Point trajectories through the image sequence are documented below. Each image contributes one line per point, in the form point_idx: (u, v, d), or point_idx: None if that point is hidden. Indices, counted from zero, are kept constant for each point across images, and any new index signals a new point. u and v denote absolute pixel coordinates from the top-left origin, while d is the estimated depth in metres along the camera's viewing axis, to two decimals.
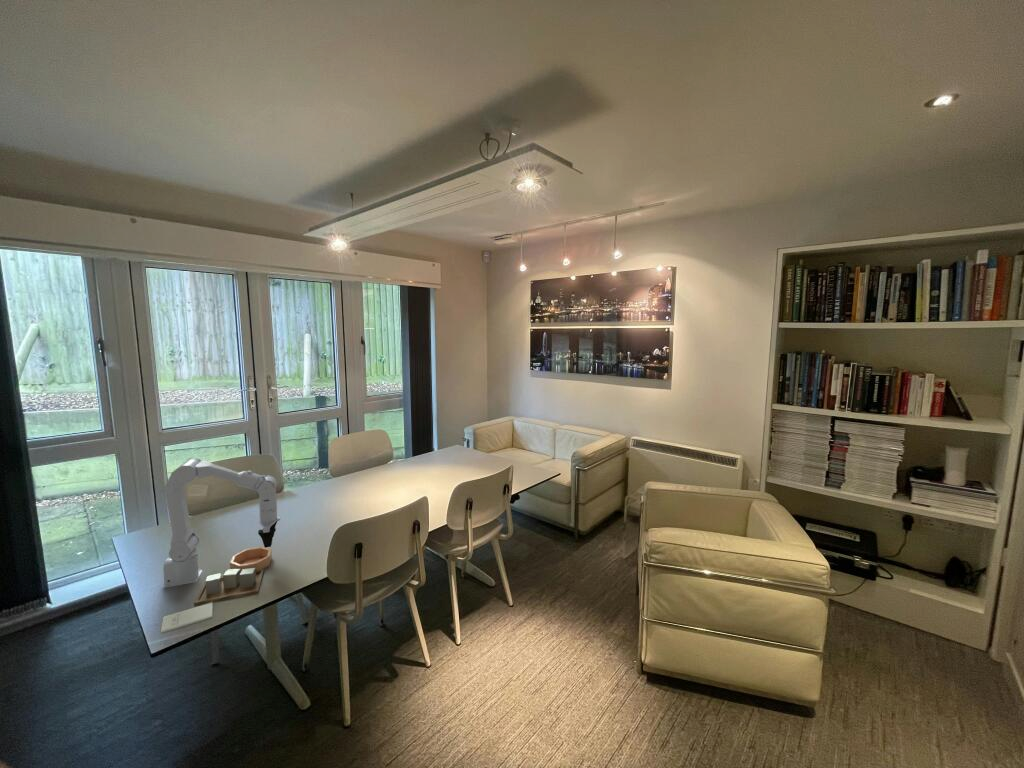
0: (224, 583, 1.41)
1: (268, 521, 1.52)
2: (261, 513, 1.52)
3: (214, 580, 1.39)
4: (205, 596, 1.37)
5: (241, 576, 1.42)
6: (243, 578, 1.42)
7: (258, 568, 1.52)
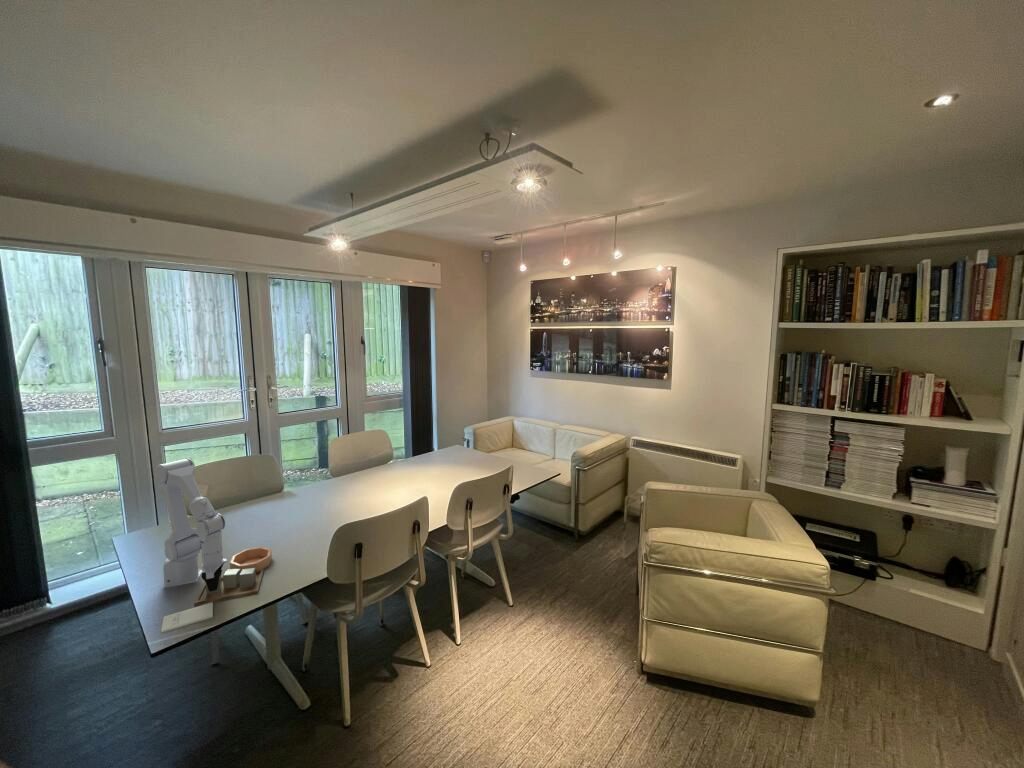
0: (224, 583, 1.41)
1: (212, 565, 1.37)
2: (204, 556, 1.36)
3: None
4: (205, 596, 1.37)
5: (241, 576, 1.42)
6: (243, 578, 1.42)
7: (258, 568, 1.52)
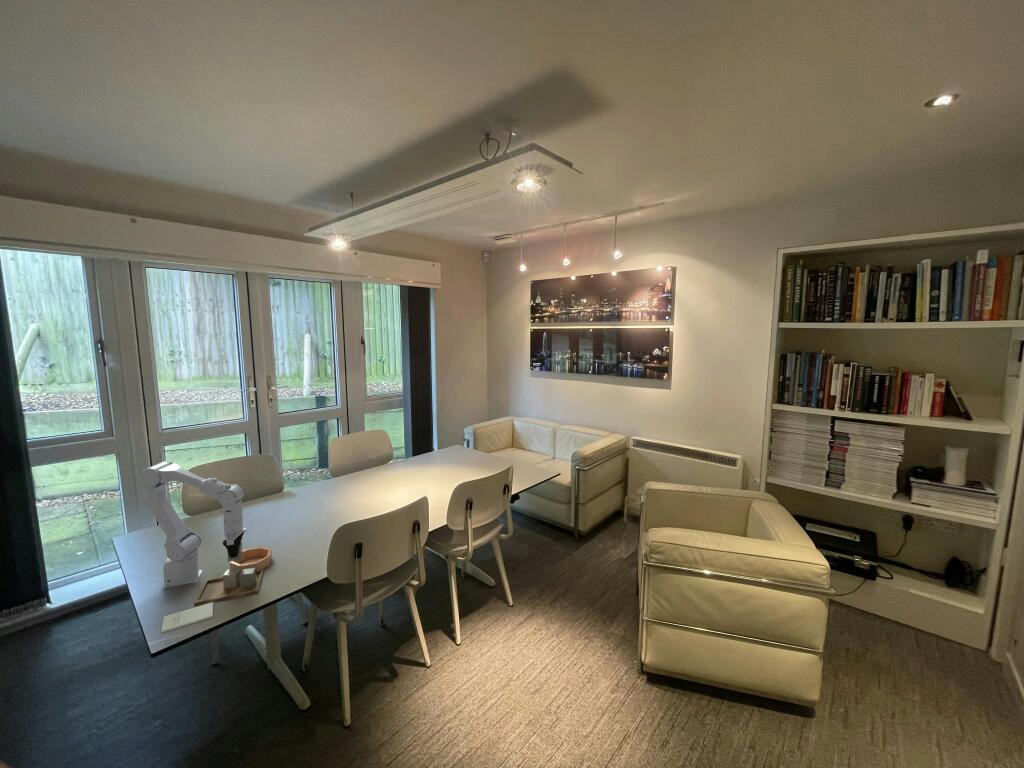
0: (224, 583, 1.41)
1: (233, 533, 1.44)
2: (225, 524, 1.44)
3: None
4: (205, 596, 1.37)
5: (241, 576, 1.42)
6: (243, 578, 1.42)
7: (258, 568, 1.52)
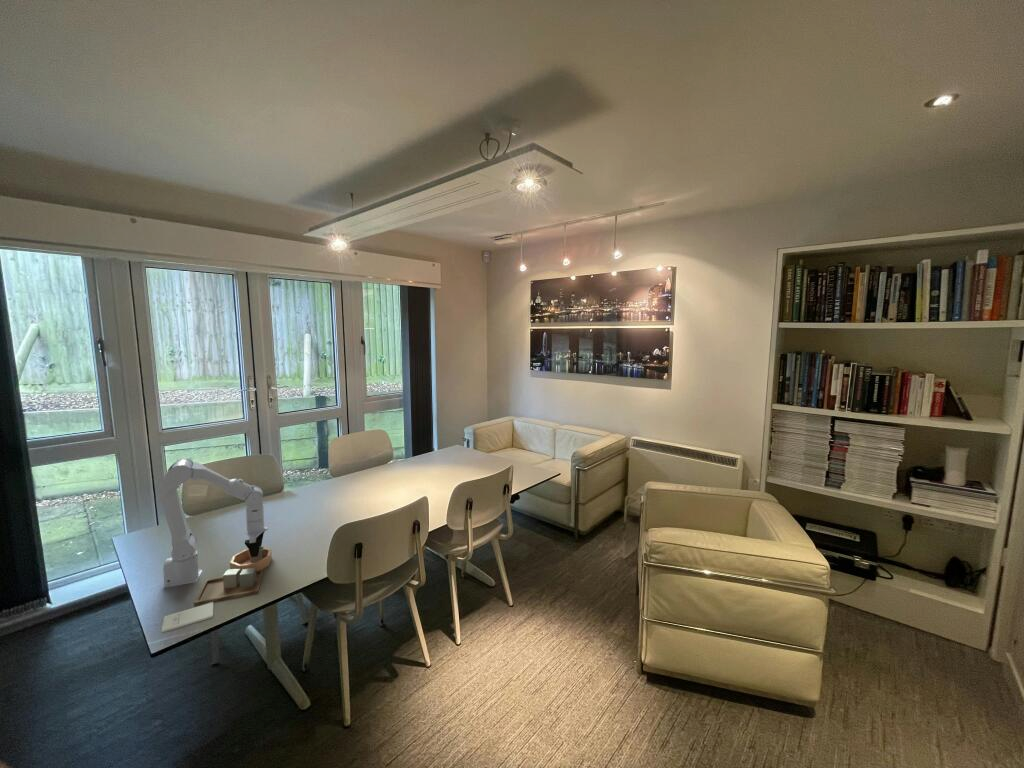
0: (224, 583, 1.41)
1: (255, 531, 1.54)
2: (248, 523, 1.54)
3: None
4: (205, 596, 1.37)
5: (241, 576, 1.42)
6: (243, 578, 1.42)
7: (258, 568, 1.52)
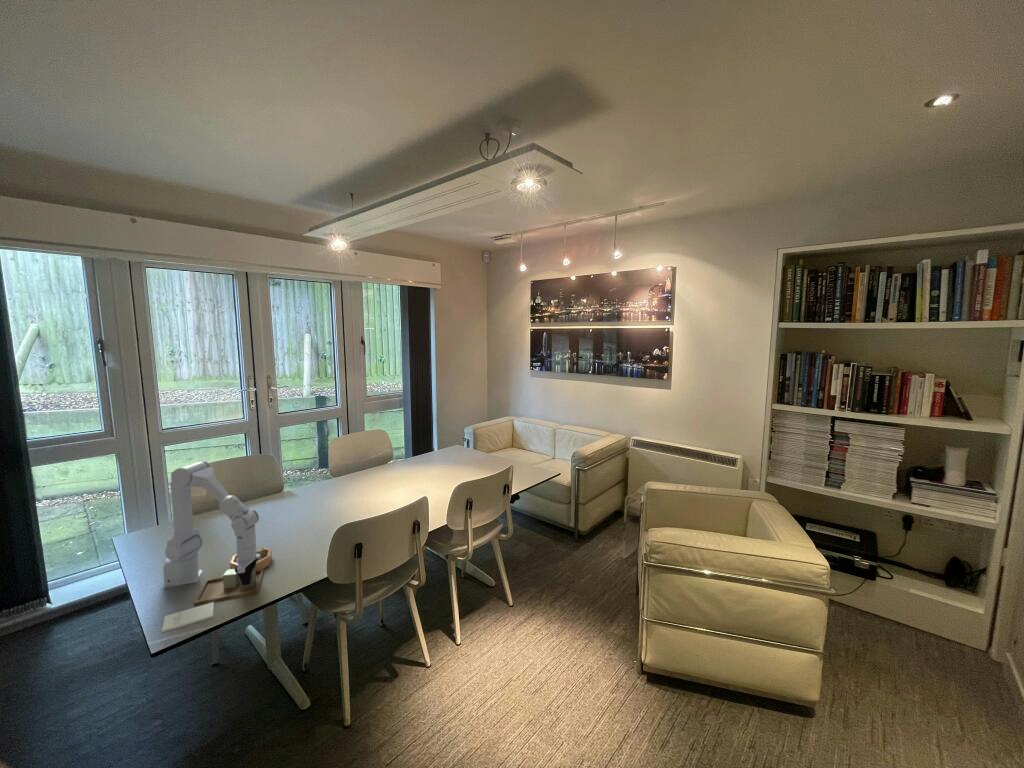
0: (224, 583, 1.41)
1: (245, 559, 1.41)
2: (238, 551, 1.40)
3: (257, 552, 1.57)
4: (205, 596, 1.37)
5: None
6: None
7: (258, 568, 1.52)
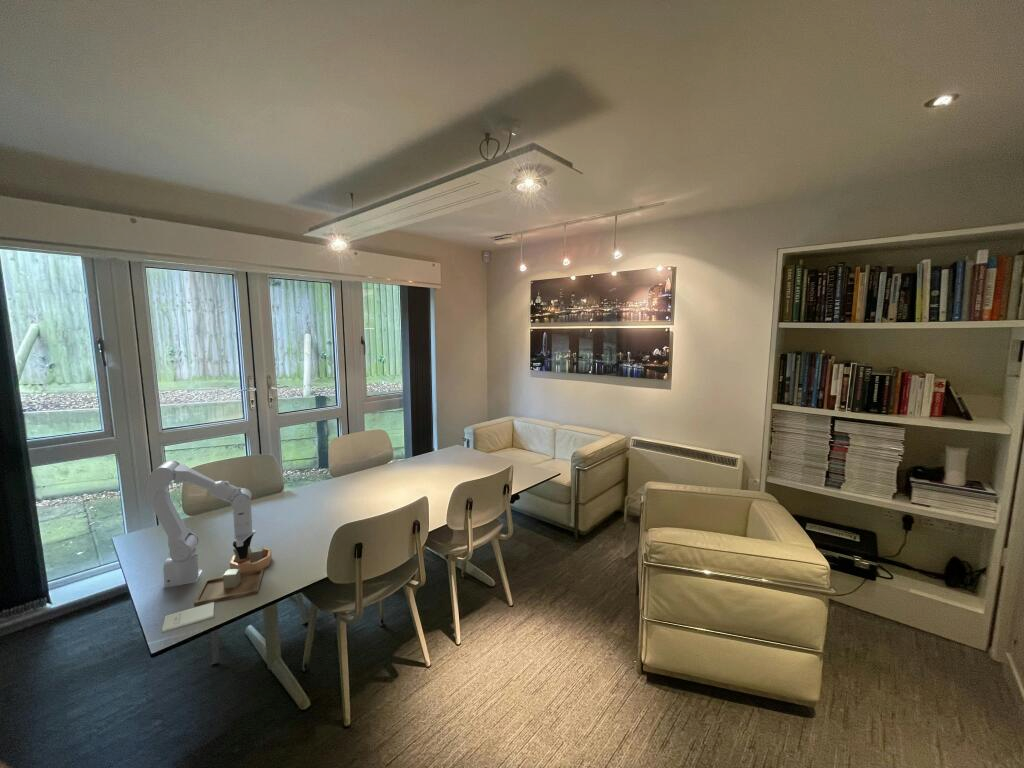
0: (224, 583, 1.41)
1: (242, 535, 1.50)
2: (235, 527, 1.50)
3: (257, 552, 1.57)
4: (205, 596, 1.37)
5: (235, 550, 1.51)
6: None
7: (258, 568, 1.52)
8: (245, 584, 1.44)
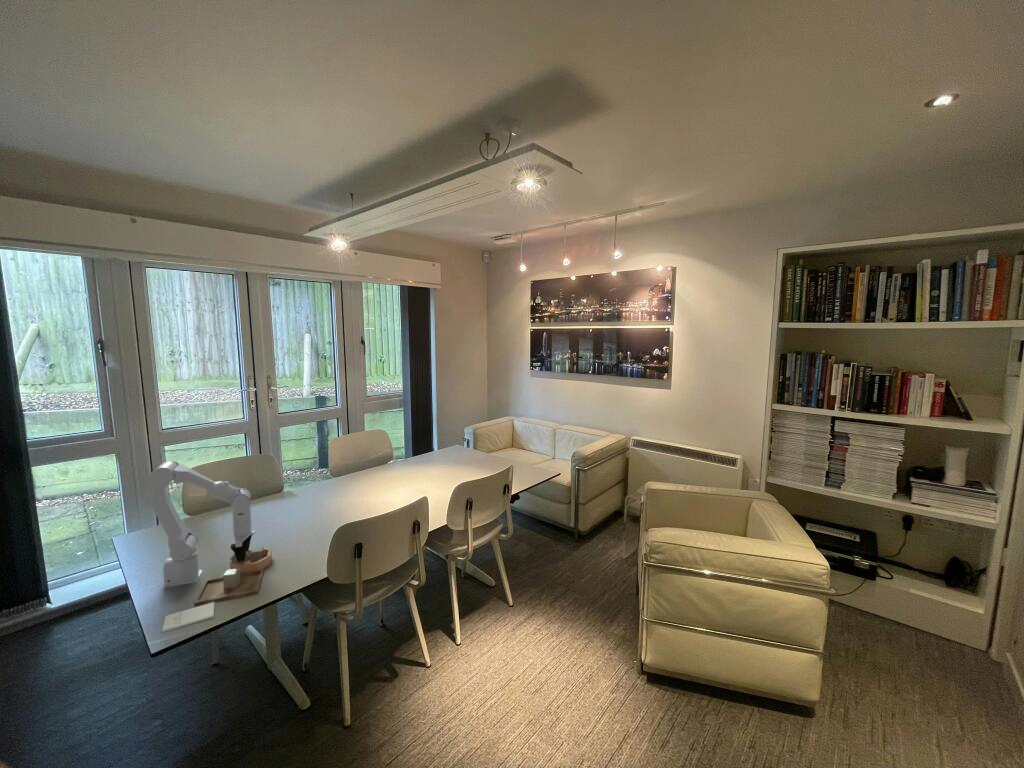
0: (224, 583, 1.41)
1: (241, 535, 1.50)
2: (234, 527, 1.50)
3: (257, 552, 1.57)
4: (205, 596, 1.37)
5: (232, 559, 1.51)
6: (236, 559, 1.51)
7: (258, 568, 1.52)
8: (245, 584, 1.44)
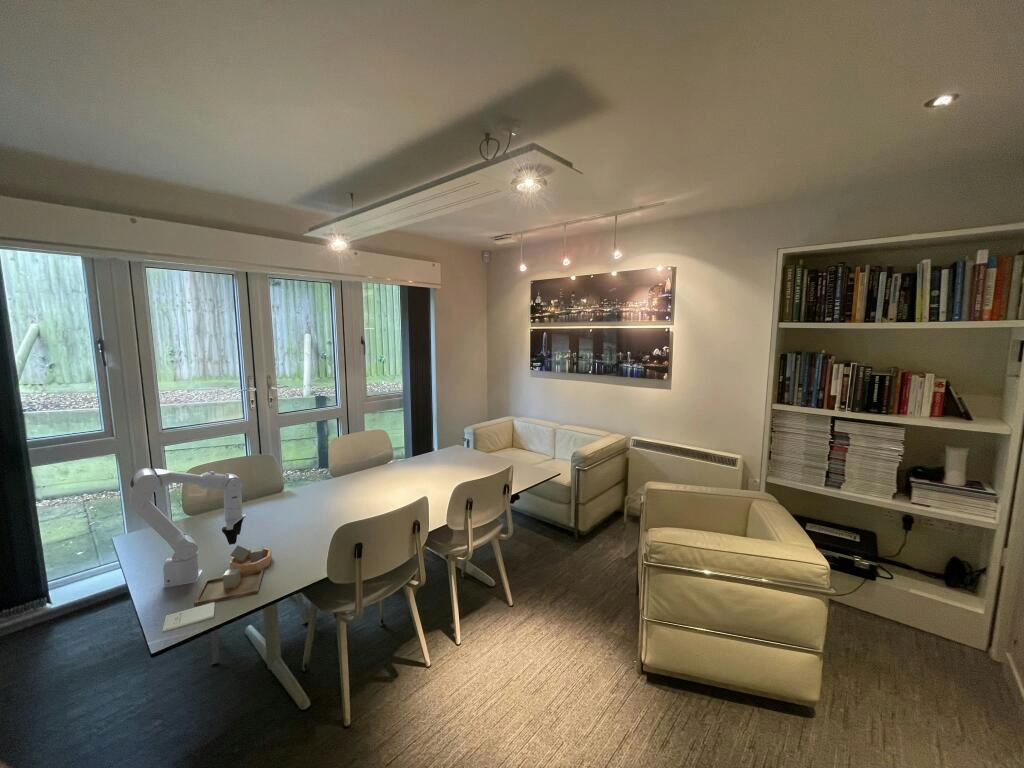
0: (224, 583, 1.41)
1: (232, 518, 1.53)
2: (225, 510, 1.53)
3: (257, 552, 1.57)
4: (205, 596, 1.37)
5: (232, 554, 1.52)
6: (236, 554, 1.53)
7: (258, 568, 1.52)
8: (245, 584, 1.44)
